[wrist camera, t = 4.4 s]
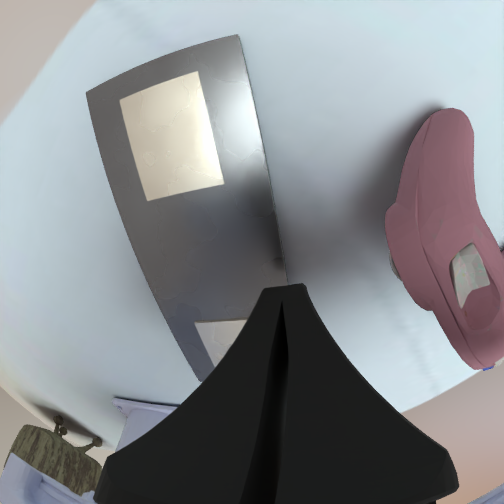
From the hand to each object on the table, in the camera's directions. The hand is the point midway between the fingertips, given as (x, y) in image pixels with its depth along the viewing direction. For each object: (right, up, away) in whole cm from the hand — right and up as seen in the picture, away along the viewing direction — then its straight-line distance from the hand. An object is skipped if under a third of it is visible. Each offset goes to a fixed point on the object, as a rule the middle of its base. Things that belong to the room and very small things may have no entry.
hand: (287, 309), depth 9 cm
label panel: (-3, +2, +2) cm, 4 cm away
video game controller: (+8, +3, +1) cm, 8 cm away
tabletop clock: (-30, -25, +20) cm, 44 cm away
